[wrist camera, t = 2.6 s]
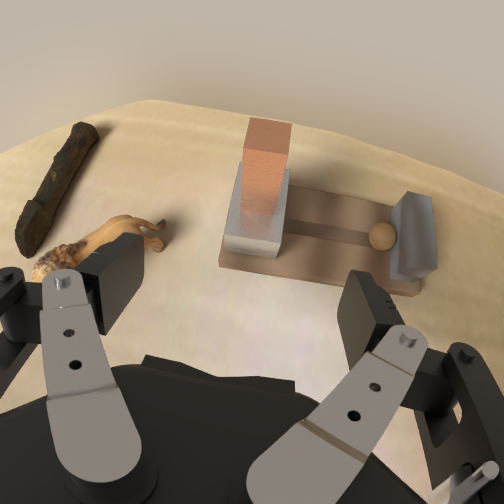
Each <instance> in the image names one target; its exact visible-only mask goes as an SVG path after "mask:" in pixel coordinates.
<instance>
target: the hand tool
mask: <svg viewBox="0 0 504 504" xmlns="http://www.w3.org/2000/svg"><path fill="white" fill-rule="evenodd" d="M99 138H100V137H99V135H98V133H97V130H96V129H95V128H94V126H92V125H91V124H88V123H84V122H79V123H76V124H74V125H73V128H72V130H71V134H70V136H69V138H68V139H67V141H66V142H65V144H64V146H63V147H62V148H61V150H60V151H59V152H58V153H57V154H56V156H54V162H53V164H52V166H51V167H50V169H49V171H48V173H47V175H46V176H45V178H44V180H43V182H42V184H41V186H40V188H39V190H38V191H37V193H36V196H35V197H34V198H33V200H28V201H27V203H26V205H25V207H24V209H23V212H22V214H21V215H20V217H19V220H18V221H17V224H16V229H15V241H16V243H17V246H18V248H19V250H20V253H21V254H22V255H23V256H24V257H26V258H28V259H29V258H30V257H31V256H32V255H33V254H34V253H35V251H36V250H37V248H38V247H39V245H40V244H41V243H42V240H43V239H44V237H45V235H46V233H47V232H48V230H49V229H50V227H51V226H52V223H53V220H52V216H53V213H54V211H55V209H56V207H57V205H58V203H59V202H60V200H61V198H62V196H63V194H64V193H65V191H66V190H67V188H68V185H69V183H70V181H71V179H72V177H73V175H74V174H75V172H76V171H77V169H78V168H79V165H80V164H81V163H82V160H83V158H84V157H85V155H86V153H87V151H88V150H89V148H90V146H91V145H92V143H93V142H98V141H99Z"/></svg>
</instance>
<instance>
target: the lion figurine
mask: <svg viewBox="0 0 504 504" xmlns="http://www.w3.org/2000/svg"><path fill="white" fill-rule="evenodd" d="M165 224H166V221H165V220H164V219H163V220H161V221H160V222H159V223H158V224H157V225H156V226H155V225H153V224H152V223H150V222H148V221H146V220H144V219H141V218H133V217H132V216H129V215H120V216H116V217H113V218H111V219H110V220H108V221H107V222H106V223H105V224H104V225H103V226H102V227H100V228H99V229H97V230H96V231H94V232H92V233H91V234H89V235H87V236H86V237H84V238H83V239H81V240H79V241H78V242H76V243H74V244H69V245H65V244H62V245H60V246H59V247H58V248H57V247H55V248H54V249H53V250H50V251H49V252H47V253H46V254H45V255H44V256H43V257H40V258H39V260H38V261H37V262H36V263H35V264H34V267H33V270H32V275H31V277H32V281H33V282H39V283H42V280H43V278H44V277H45V276H46V275H47V274H48V273H50V272H52V271H55V270H59V269H72V270H73V269H74V268H75V267H76V266H77V265H78V264H80V263H81V262H82V261H83V260H84V259H85V258H88V256H89V255H90V254H91V253H93V251H95V250H96V249H97V248H98V247H99V246H101V245H103V244H106V243H108V242H113V241H114V240H115V239H116V238H117V237H119V236H120V235H121V234H122V233H123V232H129V233H135V234H141V235H143V237H144V249H146V248H149V247H152V246H153V248H152V249H153V251H155V252H161V251H162V250H163V249H164V244H163V241H162V240H161V239H160V238H159V237H153V238H150V237H146V236H145V235H144V234H143V233H142V231H141V230H140V229H139V227H140V226H144V227H146V228H149V229H151V230H159V229H161V228H163V227H164V225H165Z"/></svg>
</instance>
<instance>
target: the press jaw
mask: <svg viewBox="0 0 504 504" xmlns="http://www.w3.org/2000/svg"><path fill="white" fill-rule="evenodd" d="M291 127H292V124H290V123H284V122H278V121H272V120H266V119H259V118H252V117H250V121H249V125H248V129H247V134H246V138H245V142H244V147H243V162H241V161H240V163H239V167H238V172H237V176H236V181H235V185H234V190H233V195H232V199H231V204H230V208H229V213H228V218H227V223H226V227H225V232H224V241H225V251H230V252H236V253H242V254H248V255H254V256H260V257H266V258H272V259H276V256H277V253H278V250H279V248H280V245H281V239H282V231H283V224H284V216H285V208H286V200H287V192H288V184H289V175H290V169H285V166H286V162H287V158H288V152H289V143H290V135H291Z"/></svg>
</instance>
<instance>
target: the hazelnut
mask: <svg viewBox="0 0 504 504" xmlns="http://www.w3.org/2000/svg"><path fill="white" fill-rule="evenodd" d="M369 240H370V243H371V245H372V246H373V247H374V248H375V249H377V250H380V251H385V250H388V249H390V248H391V247H392V246H393V245H394V244H395V241H396V232H395V229H394V228H393V227H392V226H391V225H390V224H388V223H385V222H380V223H377V224H375V225H374V226H373V227H372V228H371V230H370V232H369Z"/></svg>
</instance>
